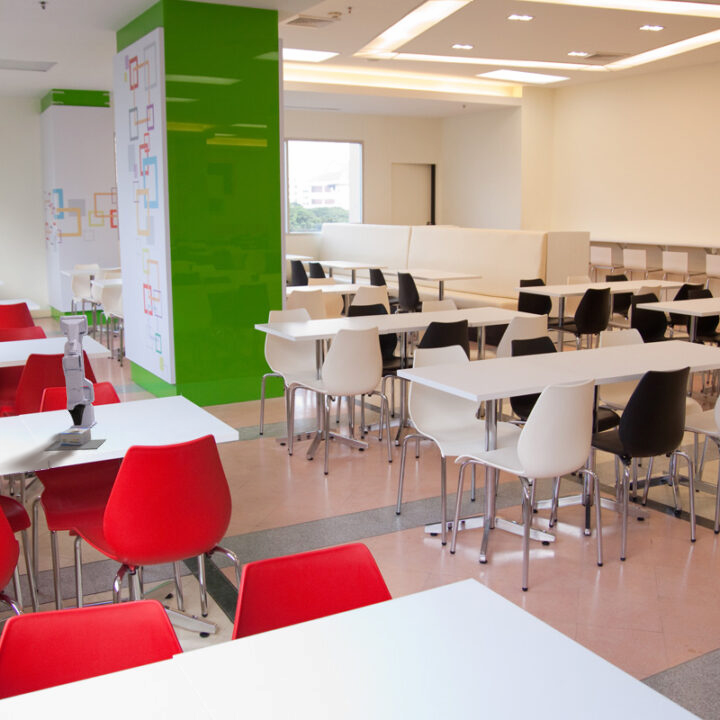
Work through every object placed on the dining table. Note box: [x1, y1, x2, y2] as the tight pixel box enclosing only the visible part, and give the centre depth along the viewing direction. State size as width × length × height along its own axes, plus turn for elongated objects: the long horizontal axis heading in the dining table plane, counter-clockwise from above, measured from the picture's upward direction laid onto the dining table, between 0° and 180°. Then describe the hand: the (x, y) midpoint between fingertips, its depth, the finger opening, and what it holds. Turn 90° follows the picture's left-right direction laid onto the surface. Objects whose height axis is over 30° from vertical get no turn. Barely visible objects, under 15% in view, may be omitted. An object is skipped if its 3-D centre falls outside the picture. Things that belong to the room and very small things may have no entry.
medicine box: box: [59, 427, 92, 445], centre depth 299 cm, size 8×4×9 cm
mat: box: [44, 438, 107, 452], centre depth 297 cm, size 12×18×1 cm, turn 92°
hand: (78, 425), depth 300 cm, fingers closed
